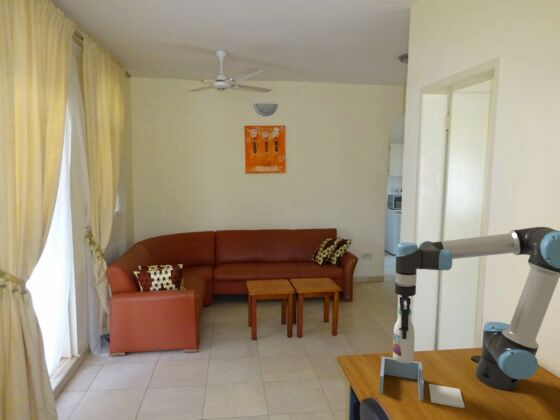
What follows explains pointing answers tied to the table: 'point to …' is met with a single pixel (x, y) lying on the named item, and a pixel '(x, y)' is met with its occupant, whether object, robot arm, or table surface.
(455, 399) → the tile
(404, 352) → the milk bottle
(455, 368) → the table surface
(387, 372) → the grey u-shaped piece
